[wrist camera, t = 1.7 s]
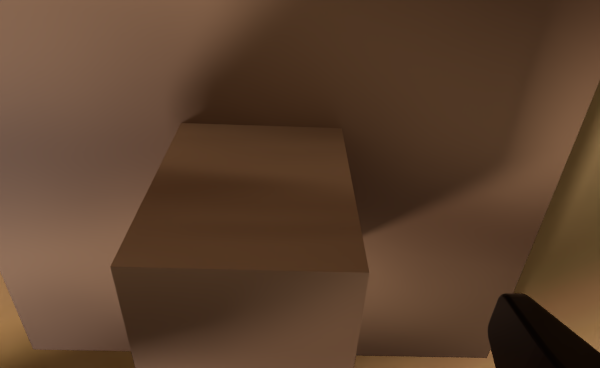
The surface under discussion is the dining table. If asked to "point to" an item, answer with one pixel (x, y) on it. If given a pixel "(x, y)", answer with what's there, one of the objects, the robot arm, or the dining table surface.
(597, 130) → the dining table surface
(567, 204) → the dining table surface
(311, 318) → the lid
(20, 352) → the dining table surface
